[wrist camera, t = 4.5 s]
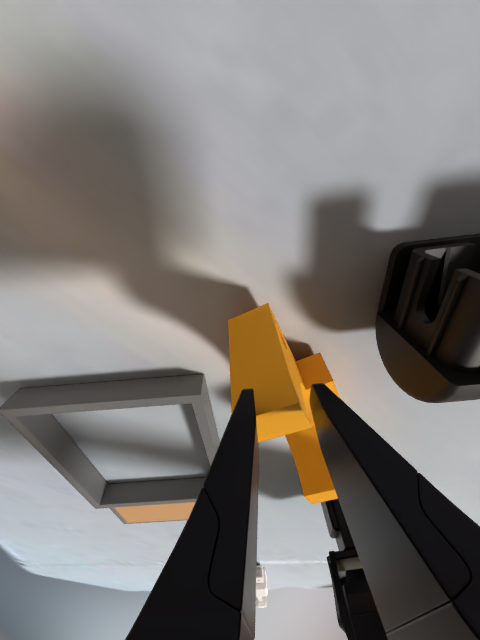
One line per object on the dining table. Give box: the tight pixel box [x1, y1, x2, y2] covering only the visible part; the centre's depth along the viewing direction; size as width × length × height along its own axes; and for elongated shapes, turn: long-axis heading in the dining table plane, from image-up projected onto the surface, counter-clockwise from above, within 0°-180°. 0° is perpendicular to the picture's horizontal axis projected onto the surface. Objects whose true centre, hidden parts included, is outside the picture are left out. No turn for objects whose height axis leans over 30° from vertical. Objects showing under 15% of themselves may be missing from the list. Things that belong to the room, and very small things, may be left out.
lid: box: [110, 502, 195, 524], centre depth 28 cm, size 15×7×1 cm, turn 95°
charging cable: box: [256, 565, 268, 608], centre depth 51 cm, size 5×31×3 cm, turn 7°
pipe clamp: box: [228, 303, 340, 504], centre depth 14 cm, size 12×4×6 cm, turn 26°
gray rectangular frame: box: [0, 374, 220, 509], centre depth 21 cm, size 15×17×2 cm
